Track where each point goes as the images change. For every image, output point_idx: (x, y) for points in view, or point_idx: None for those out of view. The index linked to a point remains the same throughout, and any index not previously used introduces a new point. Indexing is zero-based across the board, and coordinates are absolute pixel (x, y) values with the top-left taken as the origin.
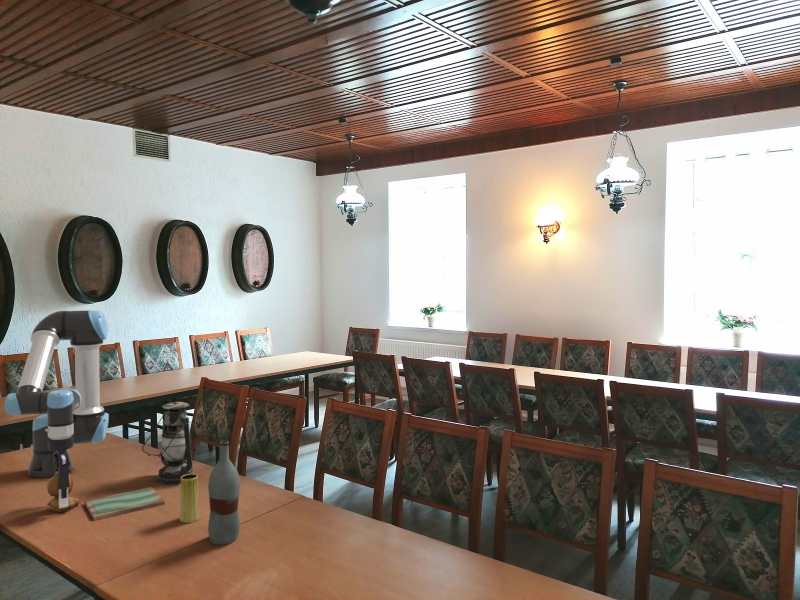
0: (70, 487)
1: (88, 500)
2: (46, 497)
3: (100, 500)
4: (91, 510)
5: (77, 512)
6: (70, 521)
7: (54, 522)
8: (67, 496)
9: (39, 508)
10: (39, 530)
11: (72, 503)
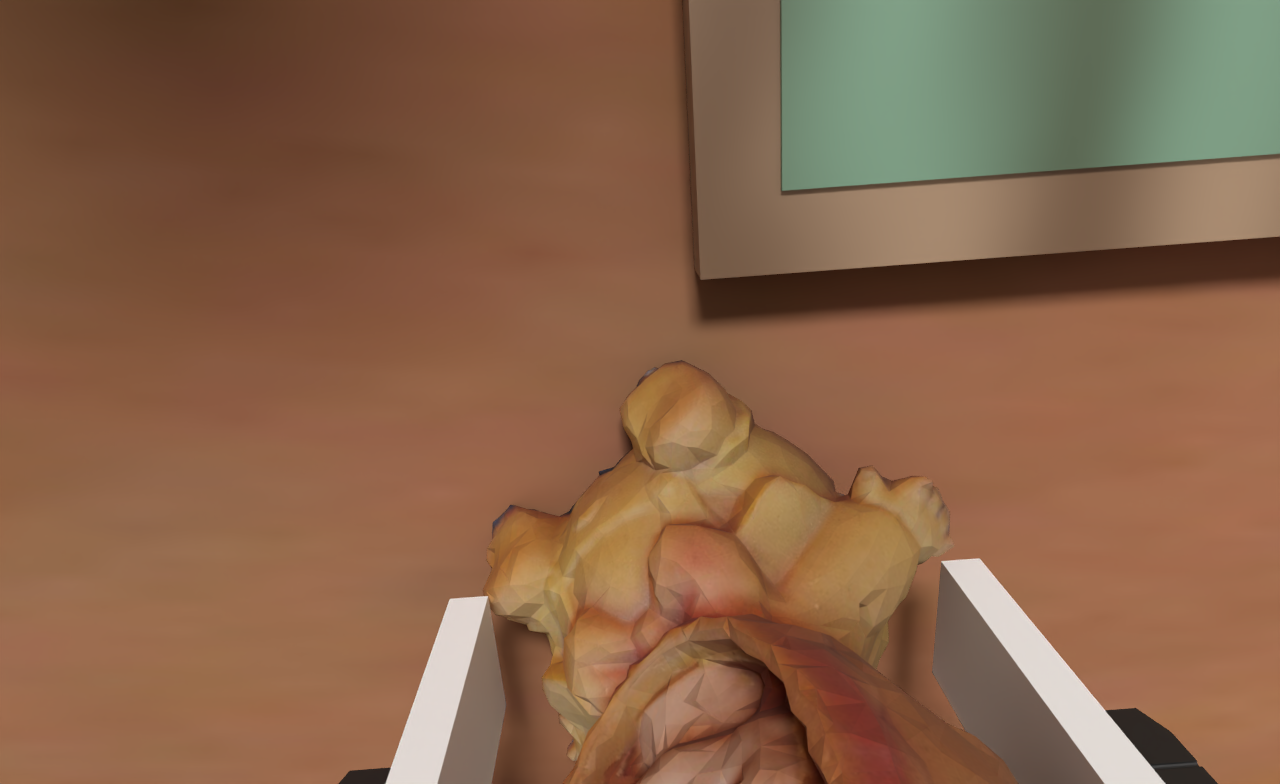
0: (953, 739)
1: (714, 220)
2: (116, 704)
3: (872, 6)
4: (1243, 223)
5: (970, 393)
6: (1236, 494)
7: (1115, 649)
8: (1074, 695)
9: (515, 771)
10: (1228, 775)
11: (930, 509)
